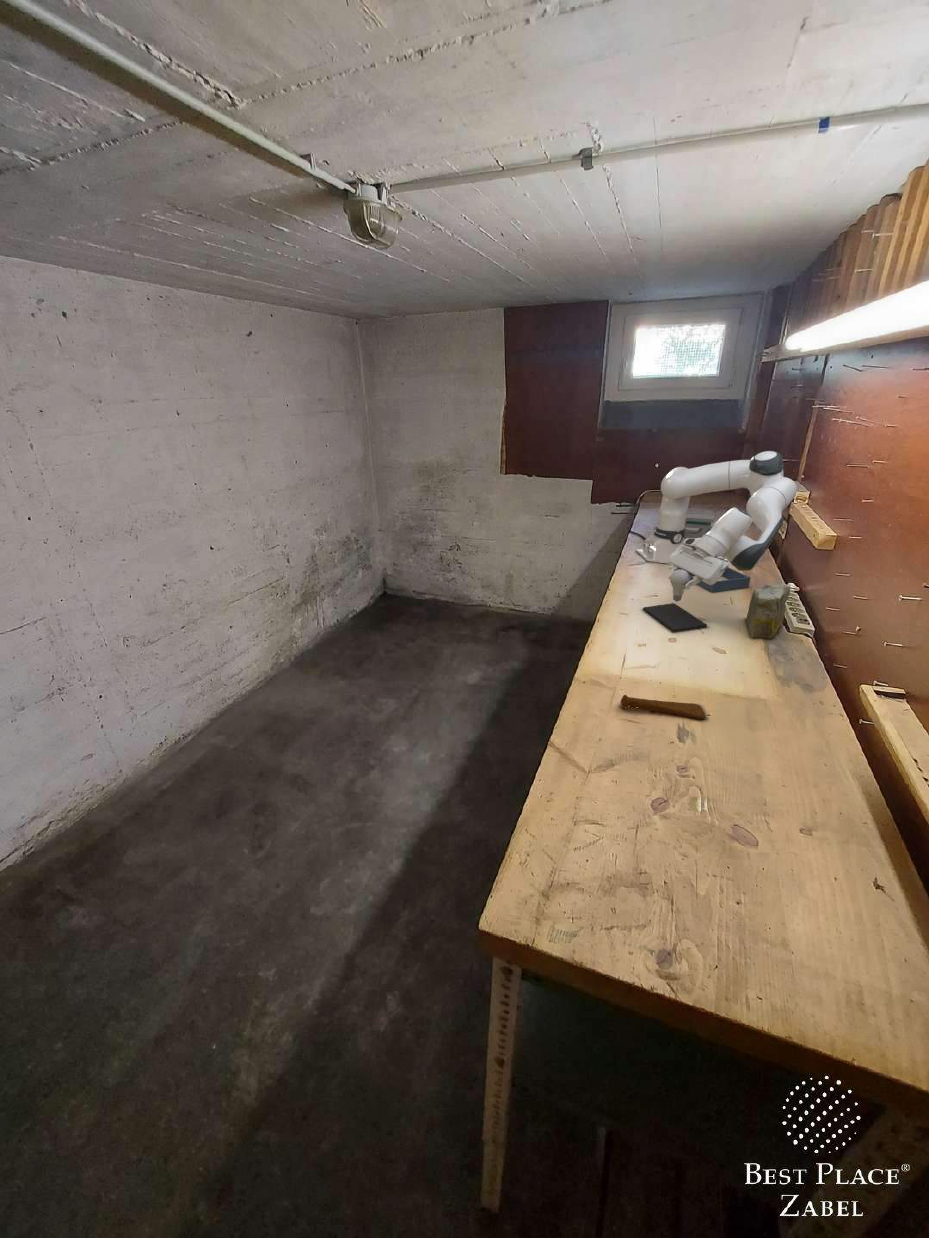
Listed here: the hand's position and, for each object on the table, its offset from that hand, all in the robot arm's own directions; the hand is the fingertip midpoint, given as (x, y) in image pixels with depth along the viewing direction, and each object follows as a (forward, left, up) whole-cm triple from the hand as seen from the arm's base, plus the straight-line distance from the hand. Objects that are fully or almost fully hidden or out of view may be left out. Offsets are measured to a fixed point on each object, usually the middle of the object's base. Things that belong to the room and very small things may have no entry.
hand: (677, 583), depth 158 cm
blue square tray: (-23, +34, -13) cm, 43 cm away
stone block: (+16, +23, -13) cm, 30 cm away
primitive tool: (+44, -31, -13) cm, 56 cm away
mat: (0, +1, -13) cm, 13 cm away
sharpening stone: (-81, +59, -13) cm, 101 cm away
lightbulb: (0, +1, -7) cm, 7 cm away
